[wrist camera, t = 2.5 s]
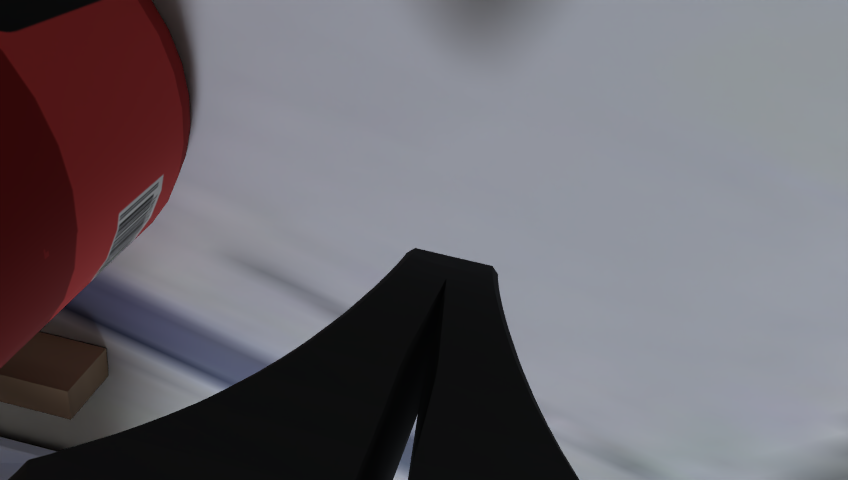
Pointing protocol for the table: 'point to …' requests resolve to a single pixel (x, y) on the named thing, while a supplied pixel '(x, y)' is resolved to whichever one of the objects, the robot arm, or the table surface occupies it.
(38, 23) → the canned food
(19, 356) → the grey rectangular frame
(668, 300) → the table surface
